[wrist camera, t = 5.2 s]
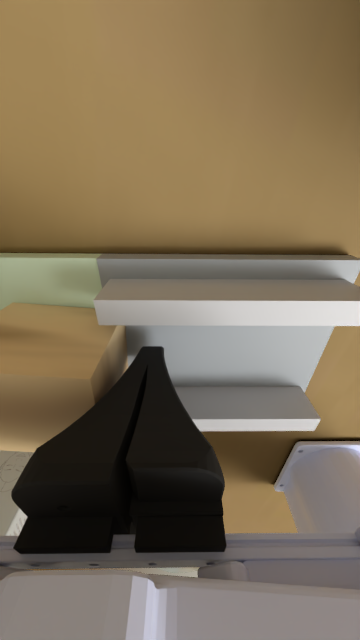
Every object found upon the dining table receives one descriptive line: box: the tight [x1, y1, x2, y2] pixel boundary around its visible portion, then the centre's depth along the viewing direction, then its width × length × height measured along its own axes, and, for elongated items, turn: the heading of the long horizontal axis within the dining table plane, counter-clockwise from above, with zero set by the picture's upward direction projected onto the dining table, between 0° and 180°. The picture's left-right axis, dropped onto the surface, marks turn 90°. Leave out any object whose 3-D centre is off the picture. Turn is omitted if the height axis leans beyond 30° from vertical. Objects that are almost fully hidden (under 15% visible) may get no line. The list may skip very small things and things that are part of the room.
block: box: [0, 302, 128, 452], centre depth 11 cm, size 5×6×5 cm
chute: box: [0, 253, 360, 431], centre depth 12 cm, size 11×19×4 cm, turn 90°
